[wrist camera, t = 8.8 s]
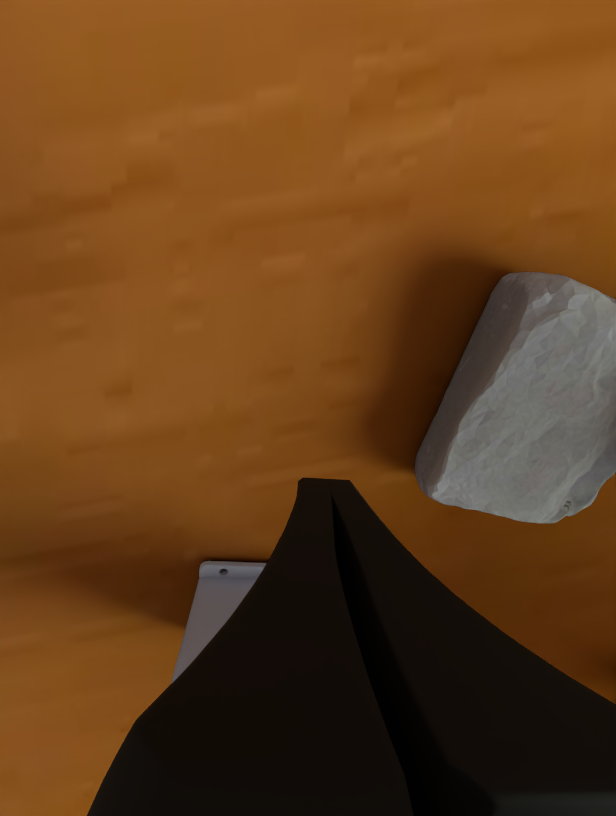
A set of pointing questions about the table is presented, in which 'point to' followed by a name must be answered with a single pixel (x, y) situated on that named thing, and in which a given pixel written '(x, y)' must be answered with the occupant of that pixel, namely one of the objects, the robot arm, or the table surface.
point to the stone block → (528, 404)
